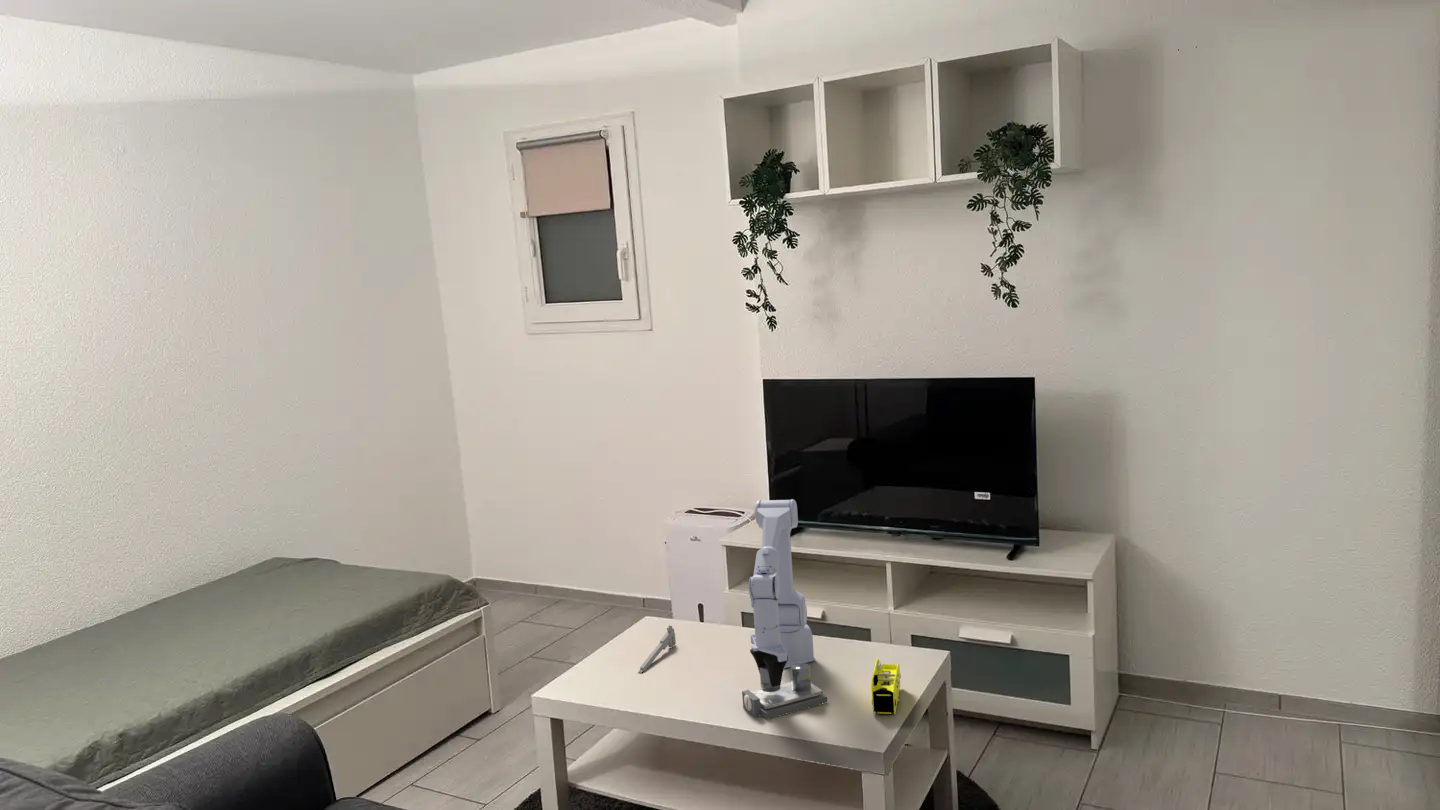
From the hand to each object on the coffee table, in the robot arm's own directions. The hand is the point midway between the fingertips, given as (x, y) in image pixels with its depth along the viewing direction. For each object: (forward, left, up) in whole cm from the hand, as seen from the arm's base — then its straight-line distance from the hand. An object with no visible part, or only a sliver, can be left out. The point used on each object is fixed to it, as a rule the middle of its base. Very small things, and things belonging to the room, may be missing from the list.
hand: (770, 681), depth 241 cm
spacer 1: (0, 0, -2) cm, 2 cm away
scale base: (-4, 0, -6) cm, 7 cm away
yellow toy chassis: (-23, +12, -6) cm, 27 cm away
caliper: (+12, -44, -6) cm, 46 cm away
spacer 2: (-8, 0, -3) cm, 8 cm away
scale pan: (-4, 0, -4) cm, 5 cm away
